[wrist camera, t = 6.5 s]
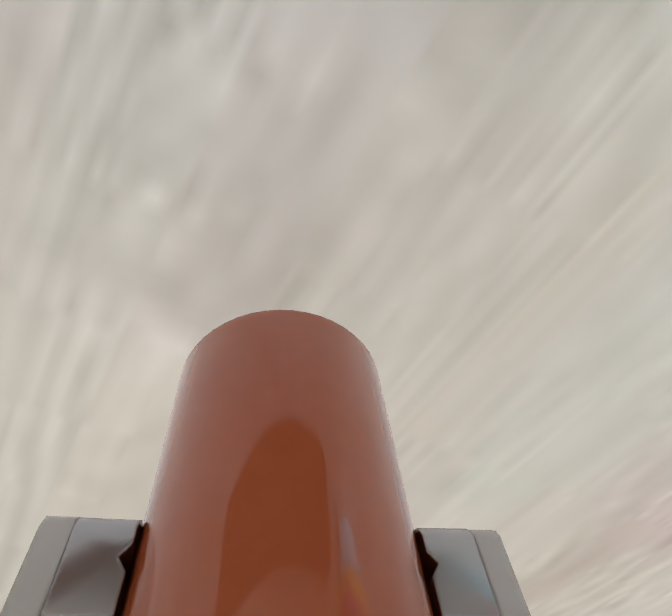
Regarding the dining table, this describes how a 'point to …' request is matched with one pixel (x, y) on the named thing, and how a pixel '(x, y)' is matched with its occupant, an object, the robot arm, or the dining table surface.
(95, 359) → the dining table surface
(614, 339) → the dining table surface
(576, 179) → the dining table surface
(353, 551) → the capped bottle
